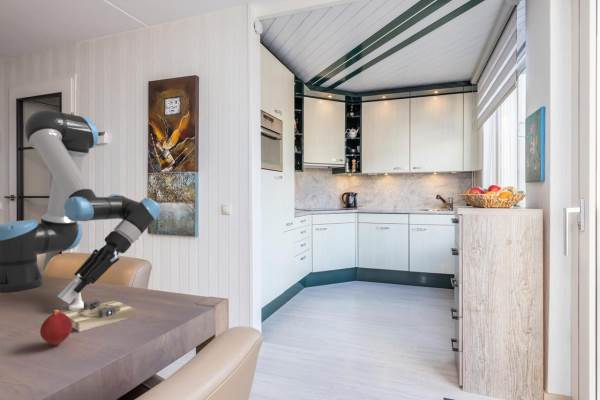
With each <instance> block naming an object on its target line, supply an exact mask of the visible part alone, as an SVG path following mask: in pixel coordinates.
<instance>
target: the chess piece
mask: <svg viewBox="0 0 600 400" xmlns="http://www.w3.org/2000/svg"><path fill="white" fill-rule="evenodd" d="M79 277H82V276H80V274H77V276H76V278H77V280H75V281H74V282H75V283H76V282H77V281H78V280H79ZM81 281H82V280H81ZM84 302H85V301H84V300H83V299H82V291H81V292H80V293H79V294H78V295H77V296H76V297H75V298H74V302H73V303H72V304H71V303H70V304H69V305H68V308H67V309H68V311H72V310H76V309H81V308H84Z"/></svg>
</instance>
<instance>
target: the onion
mask: <svg viewBox="0 0 600 400" xmlns="http://www.w3.org/2000/svg"><path fill="white" fill-rule="evenodd" d="M72 331H73V328H72V322H71V320H70V318H69V317H68V316H67V315H65V314H63V312H61V311H60V310H58V309H55V310H53V311H52V314H50V315H49V316H48V317H47V318H45V320H44V321H43V323H42V324H41V326H40V330H39V333H40V337H41V338H42V340H43V341H45V342H47V343H49V344H51V345H53V346H59V345H60V344H62V343H63V342H64V341H65V340H66V339H67V338H68V337H69V336H70V334H71V332H72Z"/></svg>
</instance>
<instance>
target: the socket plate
mask: <svg viewBox="0 0 600 400" xmlns="http://www.w3.org/2000/svg"><path fill="white" fill-rule="evenodd" d="M83 302H84V308H81V309H76V310H68V311H64V312H62V313H63V314H65V315H67V316H68V317H69V318H70V320H71V322H72V329H75V331H77V332H79V333H80V332H83V331H84V332H85V331H88V330H91V329H95V328H98V327H102V326H105V325H110V324H113V323H117V322H120V321H124V320H127V319H130V318H131V319H132V318H135V317H136V316H137V315H136V313H137V312H136V311H137V309H136V308H134V307H132V306H130V305H128V304H125V303H122V302H120V301H117V300H112V301H108V302H103V303H101V301H100V300H98V299H92V300H87V301H83ZM91 304H96V305H97V307H96V308H93V307H92V306H91ZM108 311H109V312H111V314H110V315H108V314H107V312H108Z"/></svg>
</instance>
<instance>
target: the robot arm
mask: <svg viewBox="0 0 600 400" xmlns="http://www.w3.org/2000/svg"><path fill="white" fill-rule="evenodd" d="M24 135H25V138H26V141H27V142H28V143H29V145H30V146H31V148H33V149H35V150H37V152H38V153H39V155H40V156H41V159H42V160H43V162H44V163H45V165H46V166H47V169H48V170H49V171H50V173H51V176H52V180H51V186H50V193H49V196H48V203H47V204H48V205H47V209H46V213H44V214H43V215H41V218H40V222H38V221H37V220H35V219H24V220H16V221H9V222H5V223H1V224H0V293H8V292H9V293H10V292H19V291H24V290H25V291H26V290H29V289H33V288H36V287H37V288H38V287H39V286H41V285H43V284H44V278H43V274H42V272H41V269H40V267H39V265H38V255H43V254H44V255H45V254H49V253H50V254H51V253H57V252H58V253H59V252H60V253H61V252H65V251H69V250H73V249H75V248H76V247H77V246H78V245H79V243H80V241H81V239H82V236H83V229H82V225H81V224H80V222H90V221H100V220H101V221H102V220H105V221H106V220H119V219H120V220H121V221H120V222H118V224H117V225H116V226H115V227H114V228H113V230H112V231H111V232H110V233H109V234H107V236H106V237H104V242H105V245H104V246H102V247H101V248H100V249H99V250H98V249H97V248H96V249H94V250H93V251H92V253H91V254H90V255H89V257H87V259H86V260H85V261H84V262H83V263H82V264H81V265H80V267H79V268H78V269H77V270H76V271H75V272H74V273H73V274H74V278H73V279H72V281H71V282H69V284H68V285H66V287H65V288H64V289H63V290H62V291H61V292H59V294H58V295H57V298H59V299H60V300H62V301H64V302H65V303H67V304H68V305H71V303H72V301H74V300H75V299H76V296H77V295H78V294H79V293H80V292H81V293H82V291H84V289H85V288H86V287H87V285H88V286H89V285H90V284H92V285H93V284H94V283H96V281H99V279H100V278H101V277H102V276H103V275H104V274H105V273H106V272H107V271H108V270H109V269H110V268H111V267H112V266H113V265H114V264H115V263H117V262H118V261H120V258H119V256H118V255H119V253H120V254H125V253H126V252H127V251H128V250H129V249H130V248H131V246H132V244H134V243H135V242H136V241H137V240H139V237H140V236H141V235H142V234H143V233H144V232H145V231H146V230H147V229H148V228H149V227H150V226H151V224H153V223H154V221H156V219H157V218H158V217H159V215H161V213H162V207H161V206H160V205H159V203H158V202H156V201H155V200H154V199H152V198H150V197H144V198H143V199H141V200H140V201H137V200H133V199H131V198H128V197H126V196H124V195H119V194H116V193H115V194H113V193H112V194H111V195H108V196H96V194H95V192H94V191H93V189H92V188H91V186H90V185H89V183H88V181H87V180H86V179H85V177H84V175H83V173H82V172H81V171H82V167H83V160H84V157H85V156H87V155H88V154H89V151H90V149H93V148H95V147H96V145H97V144H98V141H99V130H98V127H97V126H96V124H95V123H94V122H93V120H92V119H90V118H87V117H84V116H81V115H75V114H70V113H67V112H63V111H56V110H53V109H40V110H37V111H35V112H33V113H32V114H31V115H30V116H29V117H28V118H26V121H25V124H24ZM77 274H80V276H82V277H79V280H78V281H77V282H76V283H75V282H74V281H75V280H77V278H76V276H77ZM81 280H82V281H81Z"/></svg>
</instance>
